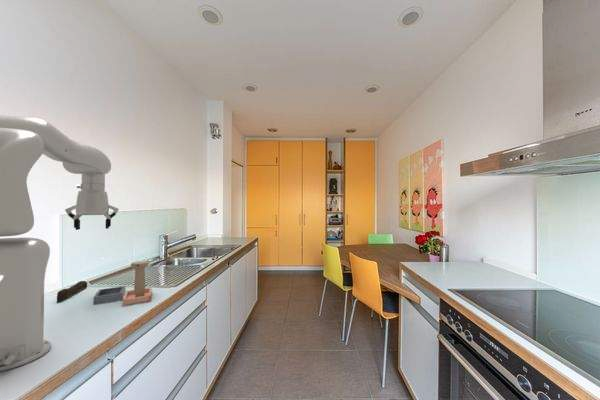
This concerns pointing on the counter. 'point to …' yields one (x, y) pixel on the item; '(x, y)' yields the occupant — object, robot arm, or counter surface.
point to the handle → (139, 277)
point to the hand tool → (70, 291)
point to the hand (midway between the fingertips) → (92, 228)
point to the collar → (109, 295)
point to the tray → (131, 299)
